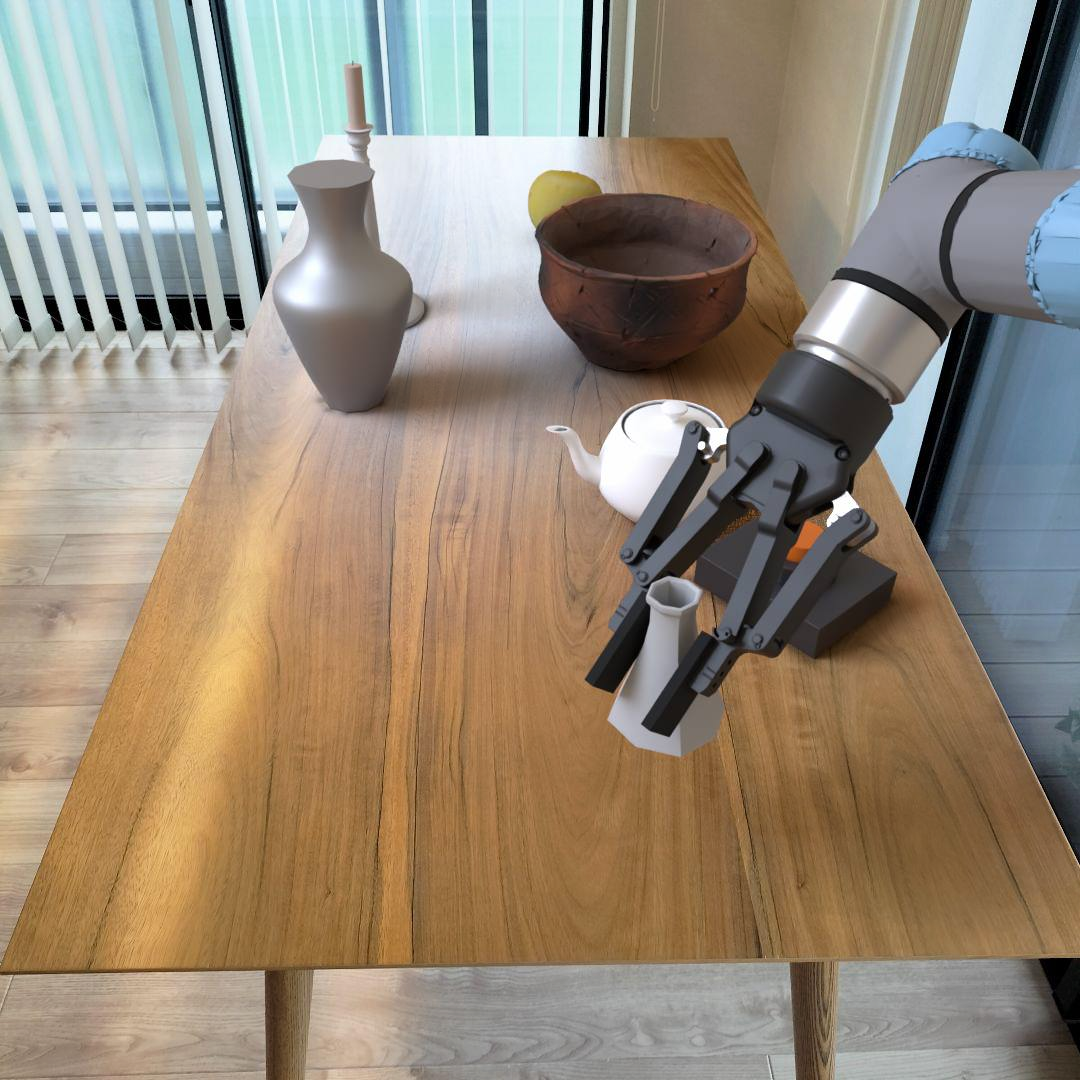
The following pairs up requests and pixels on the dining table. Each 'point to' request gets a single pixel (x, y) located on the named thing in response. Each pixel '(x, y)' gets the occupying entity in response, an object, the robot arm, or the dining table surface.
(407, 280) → the vase
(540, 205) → the fruit
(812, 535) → the power button
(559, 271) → the bowl
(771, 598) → the button box
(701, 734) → the flask
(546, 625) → the dining table surface
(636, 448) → the teapot
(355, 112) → the candlestick
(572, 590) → the dining table surface
